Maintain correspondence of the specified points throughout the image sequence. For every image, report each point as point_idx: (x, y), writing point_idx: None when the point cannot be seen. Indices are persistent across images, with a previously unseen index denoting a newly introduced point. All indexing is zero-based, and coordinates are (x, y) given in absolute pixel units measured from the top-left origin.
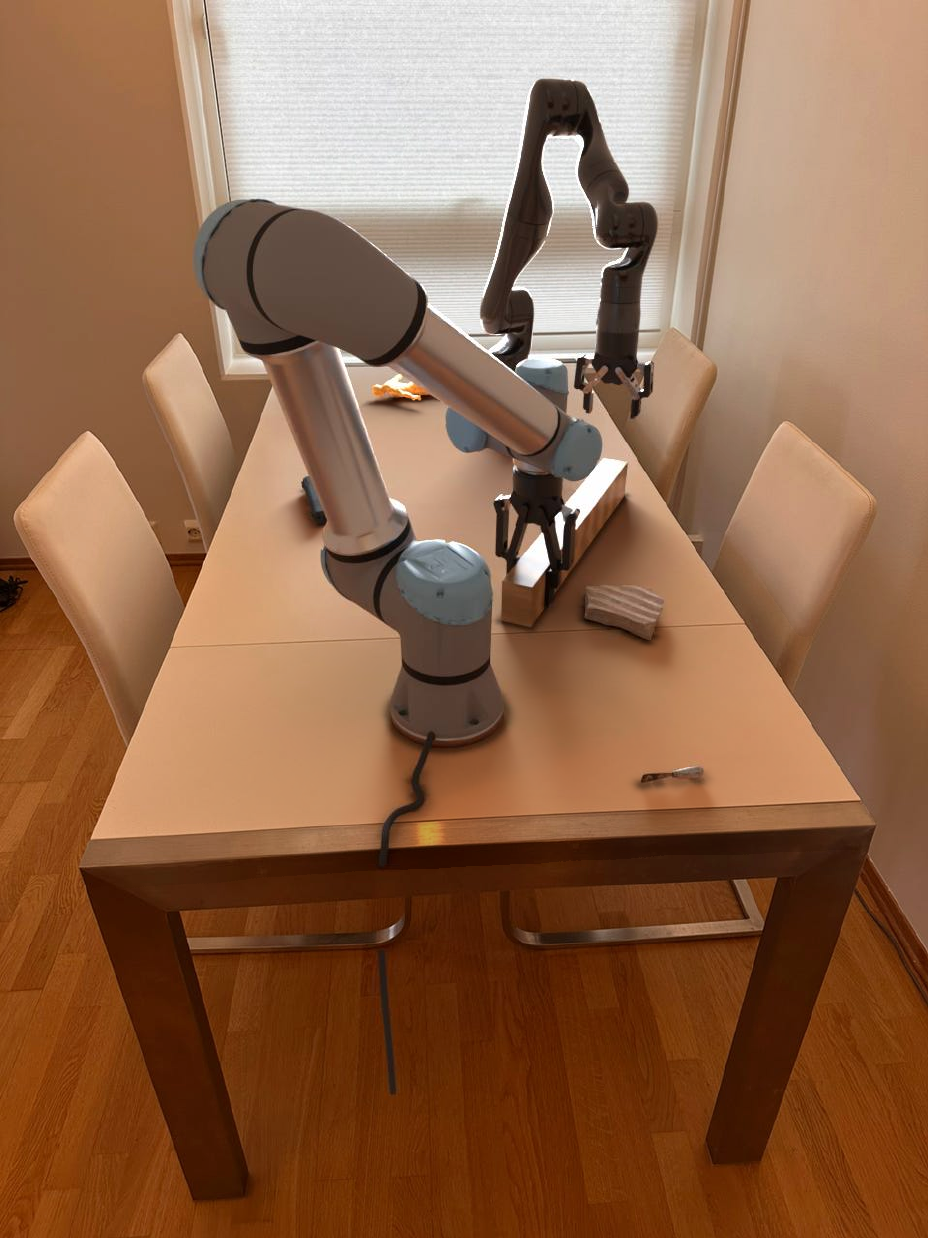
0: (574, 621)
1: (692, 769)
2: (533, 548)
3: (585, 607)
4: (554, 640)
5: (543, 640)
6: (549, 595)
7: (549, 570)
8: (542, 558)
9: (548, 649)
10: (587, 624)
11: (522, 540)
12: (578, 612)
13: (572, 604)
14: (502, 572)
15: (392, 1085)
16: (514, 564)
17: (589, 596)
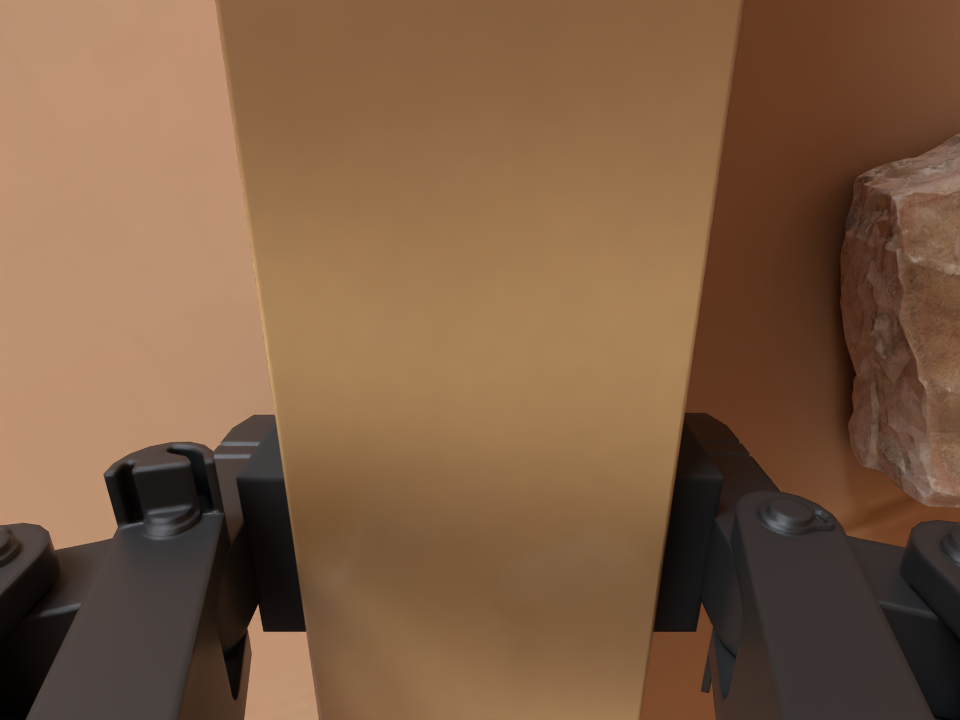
0: (783, 469)
1: None
2: (314, 239)
3: (854, 353)
4: (708, 647)
5: (656, 663)
6: None
7: (677, 602)
8: (541, 459)
9: (696, 709)
10: (863, 470)
11: (179, 710)
12: (795, 372)
13: (742, 295)
14: (79, 41)
15: None
16: (288, 623)
17: (931, 362)
